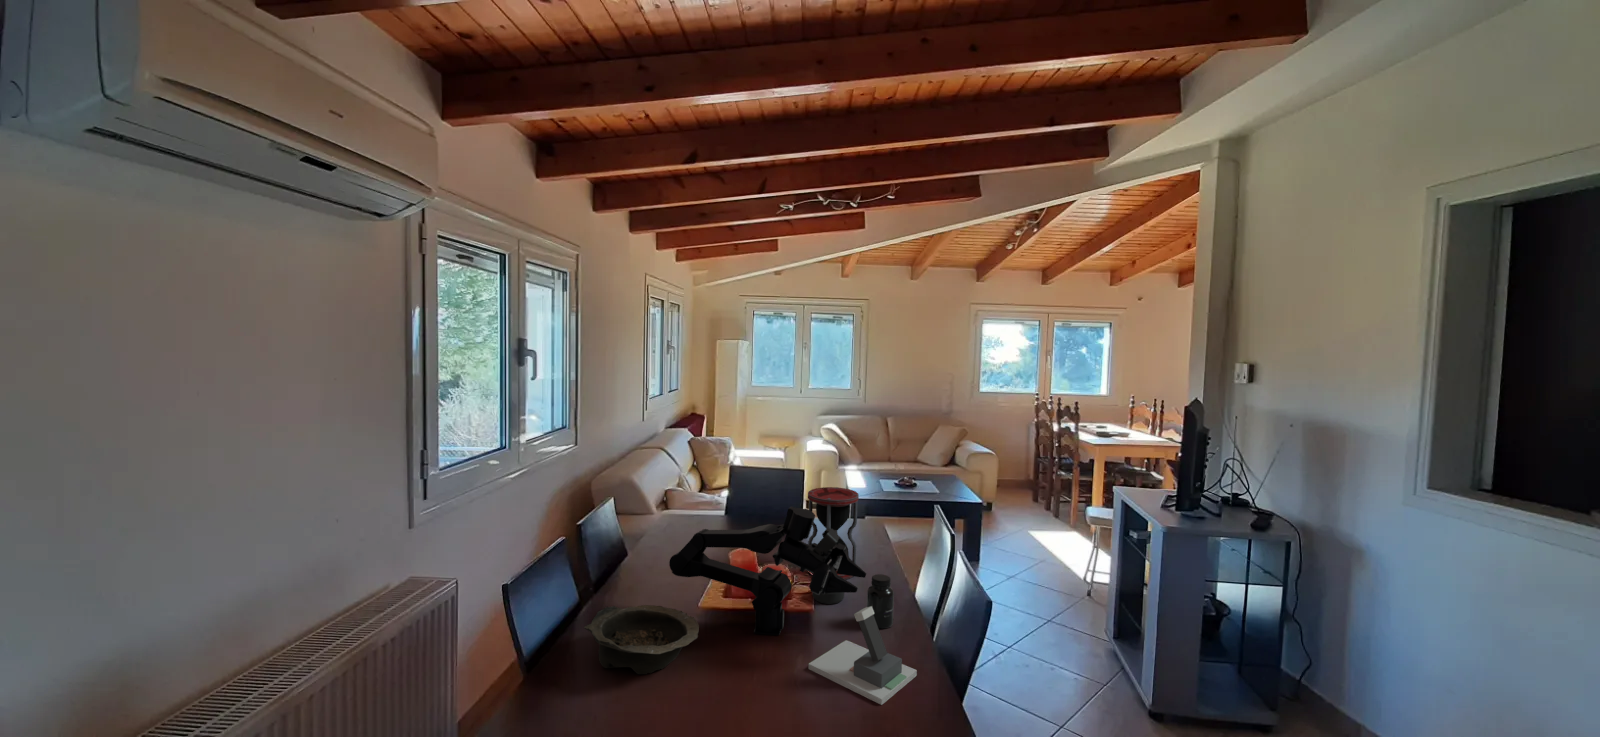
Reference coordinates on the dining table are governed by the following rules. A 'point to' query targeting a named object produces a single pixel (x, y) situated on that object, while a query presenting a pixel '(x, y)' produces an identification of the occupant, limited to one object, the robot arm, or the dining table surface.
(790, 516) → the robot arm
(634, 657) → the stone bowl
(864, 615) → the breaker lever
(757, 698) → the dining table surface
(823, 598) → the smart speaker
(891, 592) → the supplement bottle
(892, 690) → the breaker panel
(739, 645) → the dining table surface
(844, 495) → the hourglass
